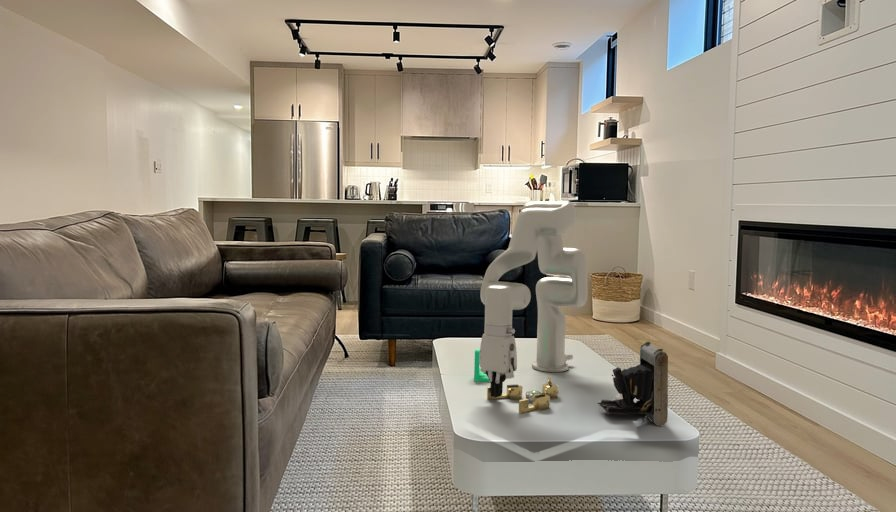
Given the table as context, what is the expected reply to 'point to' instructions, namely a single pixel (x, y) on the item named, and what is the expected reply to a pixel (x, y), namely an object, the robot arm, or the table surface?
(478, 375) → the camera mount
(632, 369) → the vintage camera
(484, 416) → the table surface
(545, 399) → the foot screw
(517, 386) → the foot screw
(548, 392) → the foot screw
